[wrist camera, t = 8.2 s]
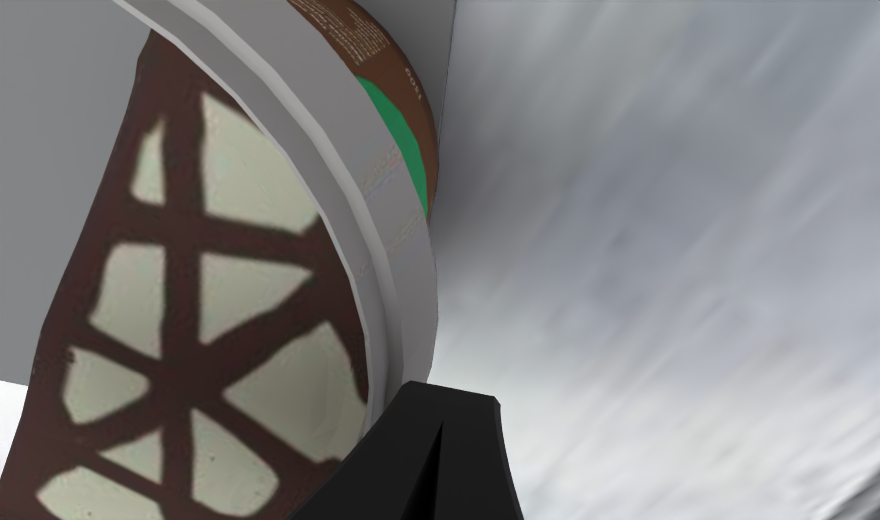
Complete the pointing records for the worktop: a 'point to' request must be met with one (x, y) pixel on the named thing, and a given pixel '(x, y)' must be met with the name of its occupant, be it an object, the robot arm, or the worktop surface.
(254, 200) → the food container
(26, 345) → the mat
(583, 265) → the worktop surface
